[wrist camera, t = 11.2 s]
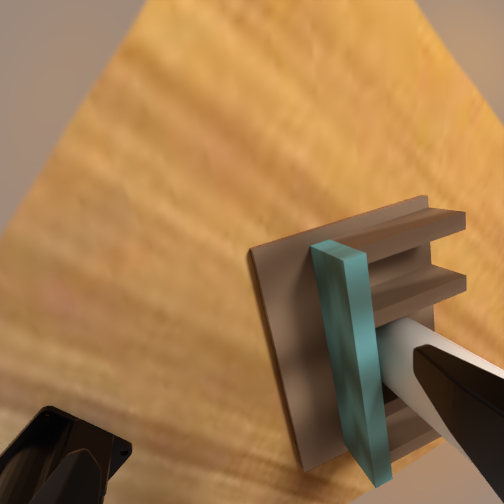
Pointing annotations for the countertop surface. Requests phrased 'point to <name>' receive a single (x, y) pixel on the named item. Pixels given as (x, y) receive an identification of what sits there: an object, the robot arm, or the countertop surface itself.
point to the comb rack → (353, 327)
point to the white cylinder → (401, 367)
